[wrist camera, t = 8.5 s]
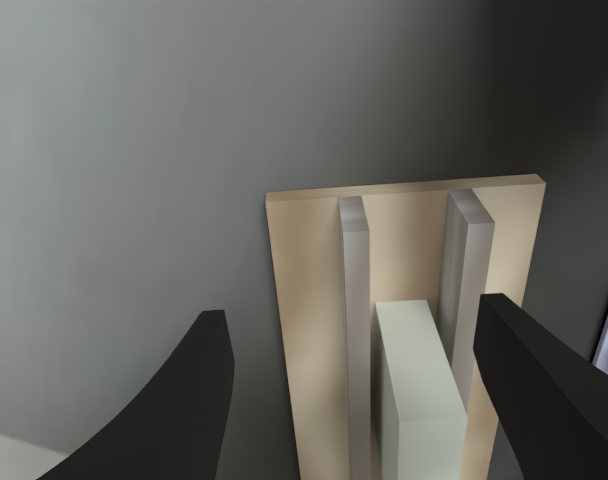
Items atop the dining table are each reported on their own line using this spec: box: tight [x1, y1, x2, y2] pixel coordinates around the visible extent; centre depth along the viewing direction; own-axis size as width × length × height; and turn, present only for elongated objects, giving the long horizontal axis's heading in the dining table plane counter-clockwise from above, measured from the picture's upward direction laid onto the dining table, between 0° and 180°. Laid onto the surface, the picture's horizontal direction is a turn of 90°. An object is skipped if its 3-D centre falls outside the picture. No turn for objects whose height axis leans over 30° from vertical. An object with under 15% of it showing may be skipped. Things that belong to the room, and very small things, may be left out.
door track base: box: [265, 174, 546, 480], centre depth 26 cm, size 12×22×4 cm, turn 4°
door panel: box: [375, 299, 468, 480], centre depth 24 cm, size 2×10×7 cm, turn 5°
